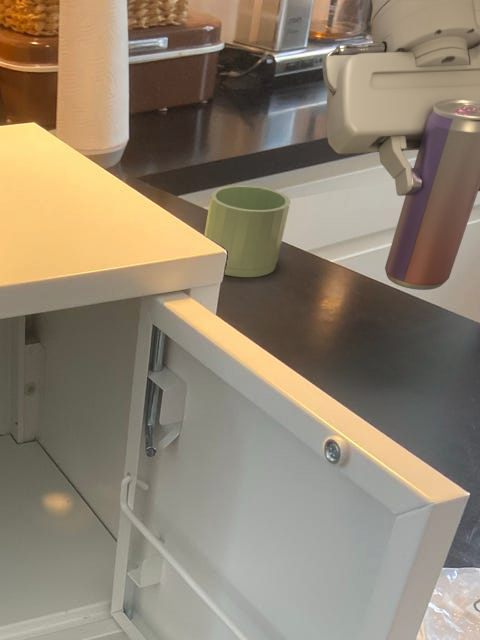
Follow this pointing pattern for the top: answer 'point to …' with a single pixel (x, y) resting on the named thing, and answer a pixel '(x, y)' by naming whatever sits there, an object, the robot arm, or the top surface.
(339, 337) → the top surface
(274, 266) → the tumbler
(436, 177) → the beverage can
